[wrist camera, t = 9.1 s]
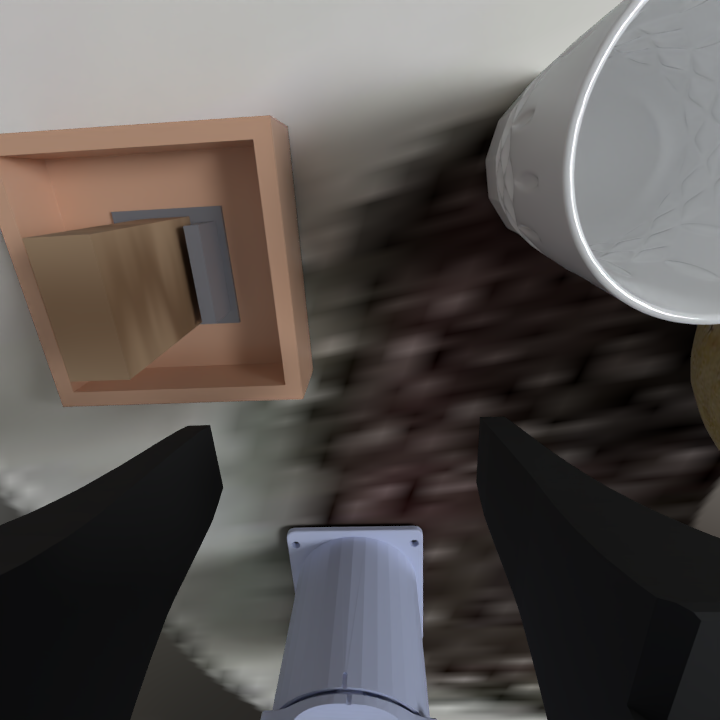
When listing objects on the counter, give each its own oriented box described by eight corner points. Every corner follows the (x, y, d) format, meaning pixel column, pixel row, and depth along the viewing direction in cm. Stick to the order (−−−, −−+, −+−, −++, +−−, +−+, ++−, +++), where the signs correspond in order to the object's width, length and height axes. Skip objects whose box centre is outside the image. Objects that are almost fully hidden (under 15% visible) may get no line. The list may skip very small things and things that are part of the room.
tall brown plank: (208, 317, 20) (130, 379, 14) (167, 318, 21) (70, 381, 14) (189, 216, 19) (90, 234, 12) (144, 218, 19) (22, 238, 12)
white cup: (435, 205, 19) (491, 227, 10) (544, 6, 16) (767, -229, 7) (582, 288, 20) (757, 378, 11) (708, 115, 17) (1088, 38, 8)
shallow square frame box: (313, 370, 22) (303, 399, 19) (104, 377, 23) (63, 406, 20) (287, 126, 18) (270, 115, 15) (33, 143, 19) (-32, 135, 16)
